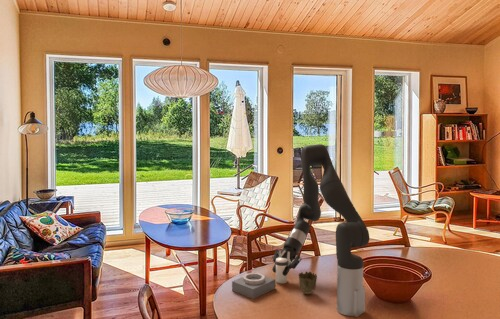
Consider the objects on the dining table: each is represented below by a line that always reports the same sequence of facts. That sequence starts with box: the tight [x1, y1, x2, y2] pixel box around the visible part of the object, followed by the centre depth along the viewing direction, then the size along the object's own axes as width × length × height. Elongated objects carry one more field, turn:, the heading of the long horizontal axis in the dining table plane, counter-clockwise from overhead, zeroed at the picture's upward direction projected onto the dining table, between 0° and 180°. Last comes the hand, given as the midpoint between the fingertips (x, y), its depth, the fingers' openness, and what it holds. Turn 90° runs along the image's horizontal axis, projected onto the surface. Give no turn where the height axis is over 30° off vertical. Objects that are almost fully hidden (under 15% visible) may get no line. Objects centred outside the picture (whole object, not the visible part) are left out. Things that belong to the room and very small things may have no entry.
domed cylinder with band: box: [275, 258, 288, 284], centre depth 168 cm, size 5×5×10 cm
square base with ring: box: [231, 272, 276, 300], centre depth 159 cm, size 12×14×6 cm
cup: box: [298, 271, 318, 296], centre depth 155 cm, size 8×7×8 cm
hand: (278, 273), depth 167 cm, fingers closed on domed cylinder with band, 5 cm apart
